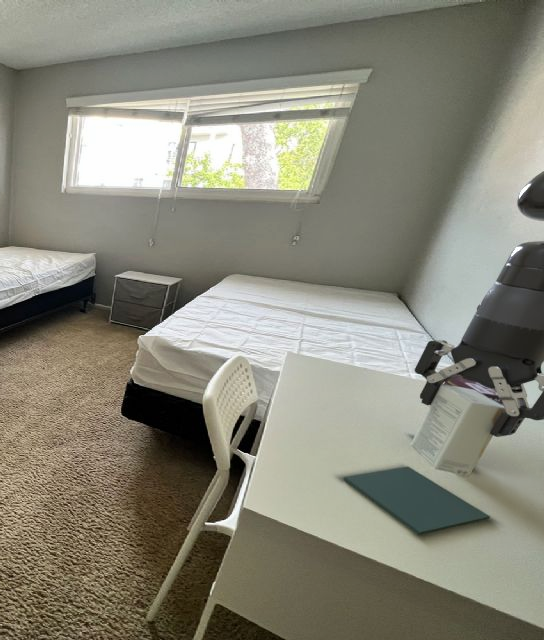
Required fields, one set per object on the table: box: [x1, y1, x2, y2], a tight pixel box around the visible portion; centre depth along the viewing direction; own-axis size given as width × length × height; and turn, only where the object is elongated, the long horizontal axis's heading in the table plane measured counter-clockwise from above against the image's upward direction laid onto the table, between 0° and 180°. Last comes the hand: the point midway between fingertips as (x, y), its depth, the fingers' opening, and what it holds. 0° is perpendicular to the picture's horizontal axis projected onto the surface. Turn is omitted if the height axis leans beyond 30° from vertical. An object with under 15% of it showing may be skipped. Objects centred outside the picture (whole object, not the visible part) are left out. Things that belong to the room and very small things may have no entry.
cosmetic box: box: [409, 383, 506, 477], centre depth 54 cm, size 6×4×12 cm
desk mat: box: [343, 466, 491, 536], centre depth 59 cm, size 16×11×1 cm
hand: (459, 418), depth 54 cm, fingers closed on cosmetic box, 7 cm apart
